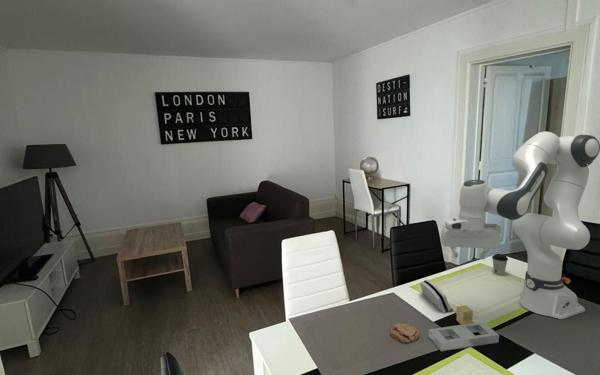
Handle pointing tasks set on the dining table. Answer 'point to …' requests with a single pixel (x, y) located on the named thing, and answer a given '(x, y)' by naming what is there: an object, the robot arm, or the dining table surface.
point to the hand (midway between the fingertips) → (468, 257)
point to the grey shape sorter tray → (463, 336)
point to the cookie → (404, 333)
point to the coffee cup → (499, 264)
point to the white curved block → (435, 296)
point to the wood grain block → (464, 315)
